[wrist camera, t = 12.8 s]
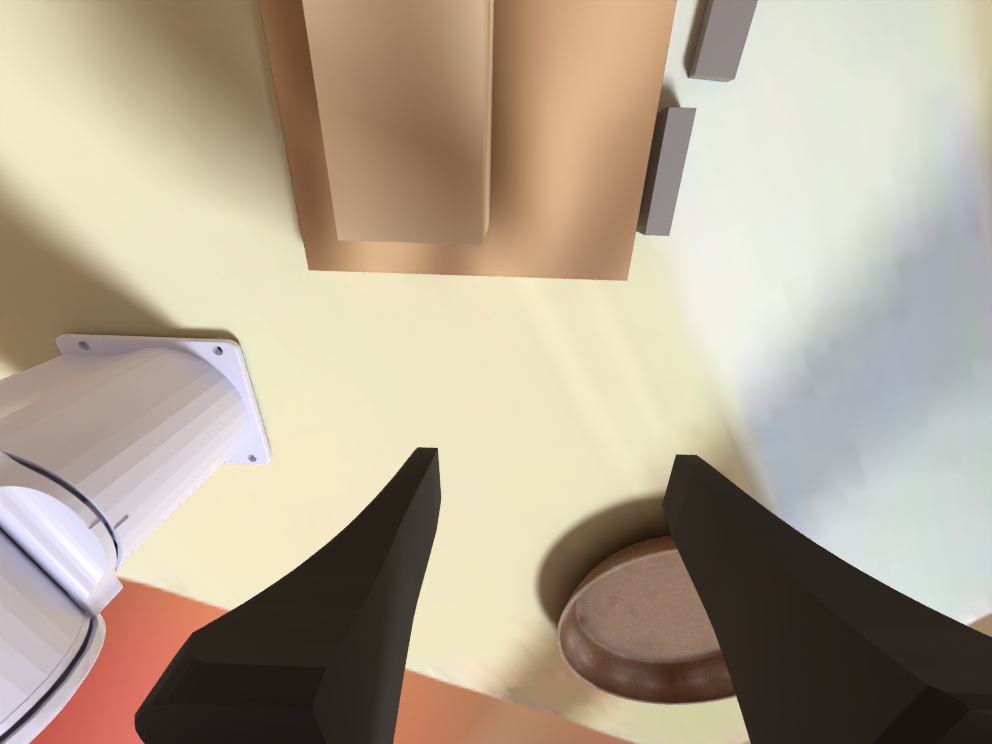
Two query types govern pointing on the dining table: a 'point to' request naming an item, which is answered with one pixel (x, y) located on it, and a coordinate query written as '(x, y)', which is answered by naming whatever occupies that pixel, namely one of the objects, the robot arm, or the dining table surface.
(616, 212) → the oak board
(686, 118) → the small gray block
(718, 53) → the grey rectangular block
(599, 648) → the plant saucer
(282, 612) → the robot arm
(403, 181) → the block
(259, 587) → the dining table surface
